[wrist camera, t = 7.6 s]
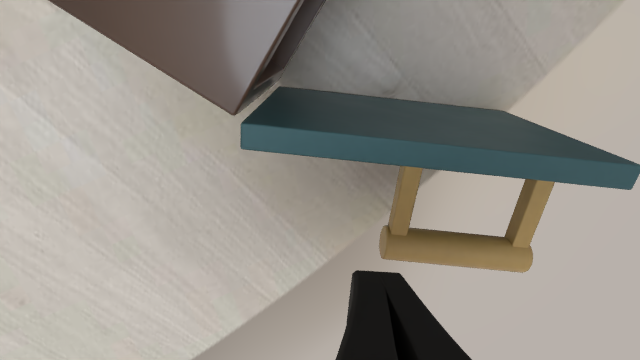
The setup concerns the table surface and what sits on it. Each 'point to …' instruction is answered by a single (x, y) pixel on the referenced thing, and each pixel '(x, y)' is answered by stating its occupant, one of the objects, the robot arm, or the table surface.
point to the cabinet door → (436, 163)
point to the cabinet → (206, 40)
